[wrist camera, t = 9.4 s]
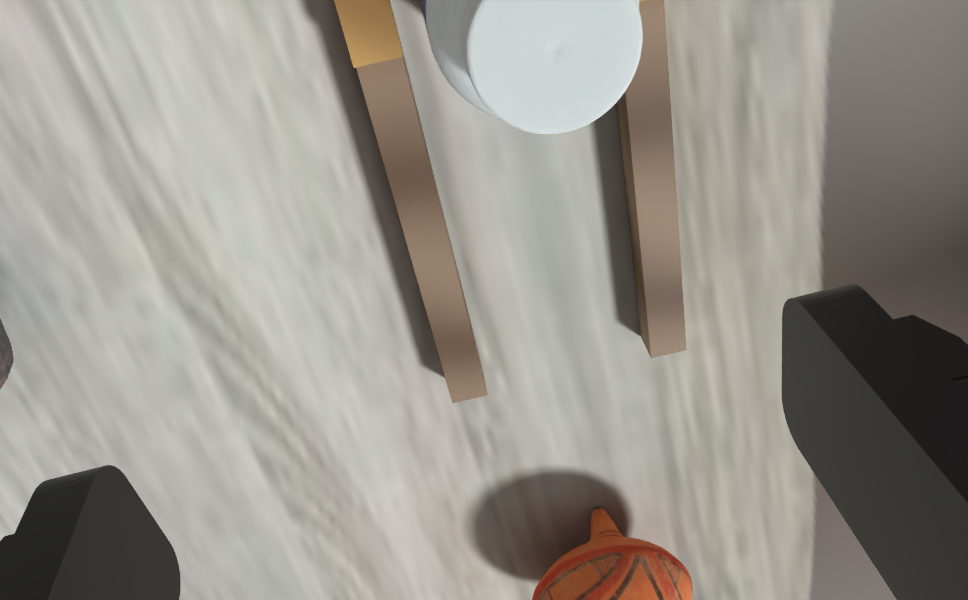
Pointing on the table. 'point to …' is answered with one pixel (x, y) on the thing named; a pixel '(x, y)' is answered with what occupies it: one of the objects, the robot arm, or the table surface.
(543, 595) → the pot
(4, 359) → the perforated stone tool
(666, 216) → the guide channel
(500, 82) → the pill bottle
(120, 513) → the robot arm
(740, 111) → the table surface
